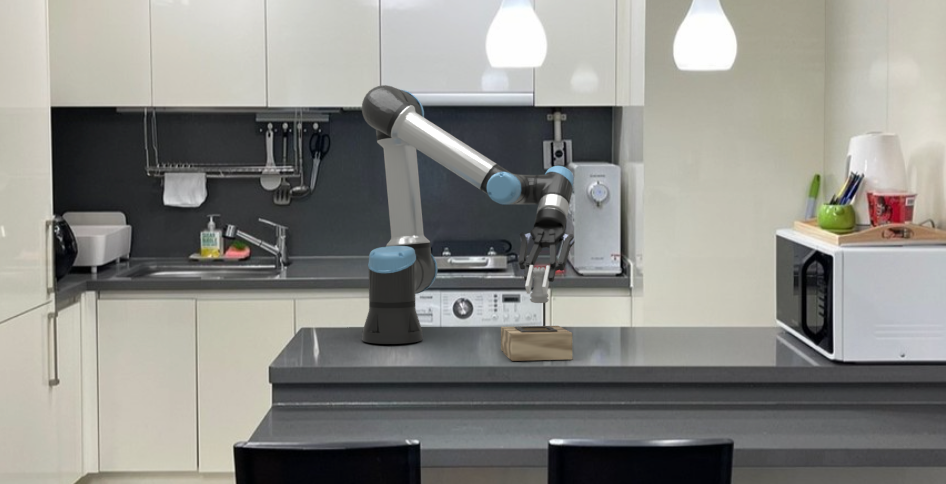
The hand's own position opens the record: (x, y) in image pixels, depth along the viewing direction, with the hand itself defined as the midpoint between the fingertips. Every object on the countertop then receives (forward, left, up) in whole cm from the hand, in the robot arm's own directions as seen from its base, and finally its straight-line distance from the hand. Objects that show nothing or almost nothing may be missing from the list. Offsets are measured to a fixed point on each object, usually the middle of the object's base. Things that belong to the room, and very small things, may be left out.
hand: (536, 290), depth 221 cm
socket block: (-3, +1, -16) cm, 16 cm away
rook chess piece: (-4, +2, -3) cm, 5 cm away
